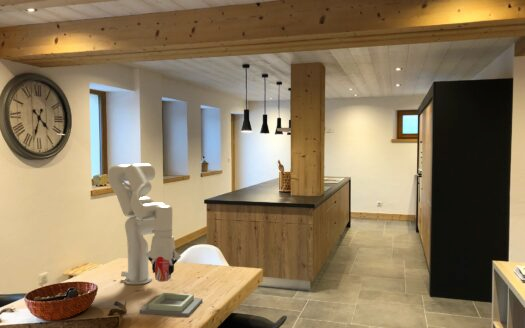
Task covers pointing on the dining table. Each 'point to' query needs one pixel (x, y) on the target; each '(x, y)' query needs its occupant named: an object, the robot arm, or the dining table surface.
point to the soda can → (162, 269)
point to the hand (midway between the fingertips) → (163, 272)
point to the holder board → (172, 304)
